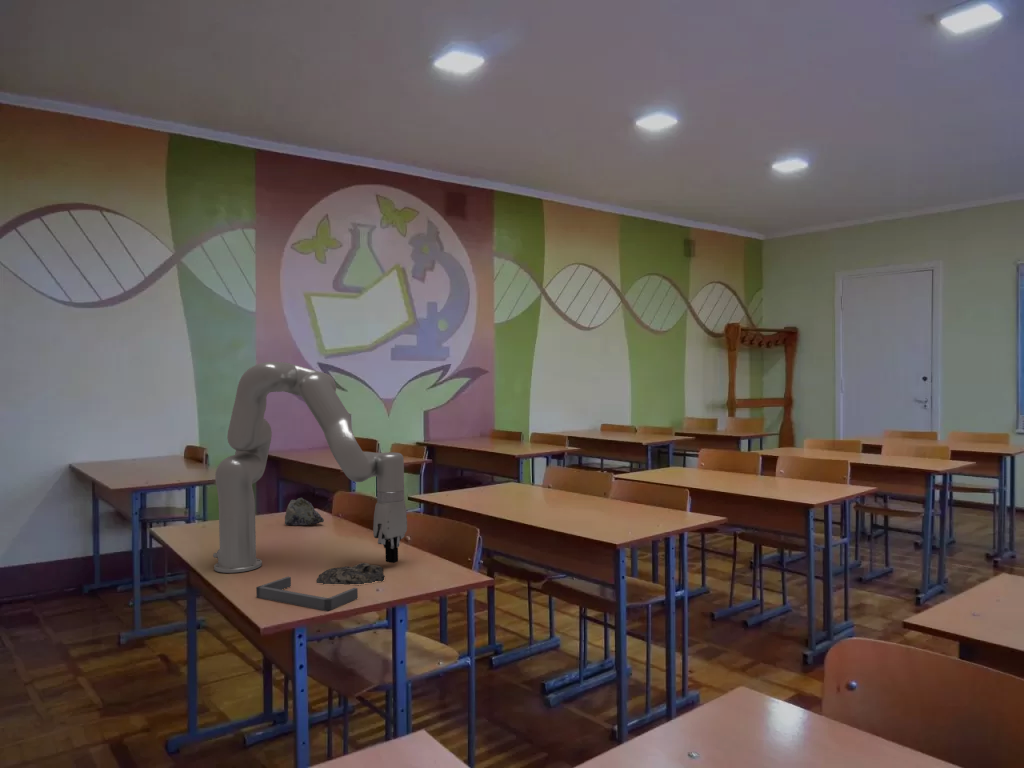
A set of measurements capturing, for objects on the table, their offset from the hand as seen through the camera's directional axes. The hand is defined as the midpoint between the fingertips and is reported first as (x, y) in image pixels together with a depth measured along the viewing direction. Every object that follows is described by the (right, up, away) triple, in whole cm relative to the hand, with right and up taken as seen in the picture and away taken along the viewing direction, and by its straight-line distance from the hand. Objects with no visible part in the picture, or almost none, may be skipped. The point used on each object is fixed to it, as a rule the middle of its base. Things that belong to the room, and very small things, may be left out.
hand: (391, 561), depth 204 cm
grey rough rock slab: (-8, -2, -13) cm, 15 cm away
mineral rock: (-41, -1, +56) cm, 70 cm away
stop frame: (-16, -2, -29) cm, 33 cm away
